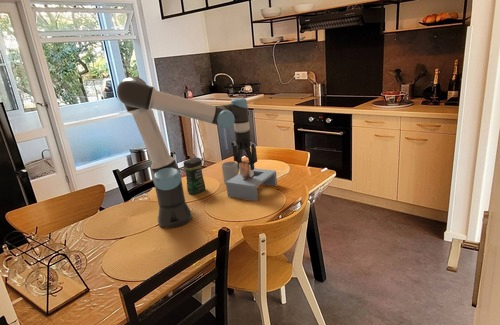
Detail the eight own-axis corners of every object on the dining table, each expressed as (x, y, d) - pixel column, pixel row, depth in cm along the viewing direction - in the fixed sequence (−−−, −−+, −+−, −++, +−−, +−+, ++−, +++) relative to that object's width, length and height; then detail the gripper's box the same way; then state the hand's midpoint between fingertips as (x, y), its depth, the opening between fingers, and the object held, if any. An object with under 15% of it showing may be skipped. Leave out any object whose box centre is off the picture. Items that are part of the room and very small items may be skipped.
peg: (250, 191, 170) (247, 163, 165) (241, 190, 172) (238, 162, 168) (255, 188, 174) (252, 160, 169) (246, 186, 176) (244, 159, 172)
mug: (232, 185, 186) (230, 167, 182) (220, 183, 191) (218, 165, 187) (245, 178, 195) (243, 160, 191) (233, 176, 200) (231, 158, 196)
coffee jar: (194, 195, 178) (189, 162, 172) (185, 192, 183) (179, 160, 177) (208, 189, 184) (203, 157, 179) (199, 186, 190) (194, 155, 184)
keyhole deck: (255, 201, 163) (254, 186, 161) (227, 196, 172) (225, 182, 170) (277, 184, 181) (276, 170, 178) (250, 180, 190) (249, 167, 187)
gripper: (262, 129, 161) (266, 174, 169) (231, 128, 171) (236, 170, 178) (254, 133, 155) (258, 179, 163) (222, 131, 165) (228, 175, 172)
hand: (246, 175), depth 170 cm, fingers closed on peg, 5 cm apart
